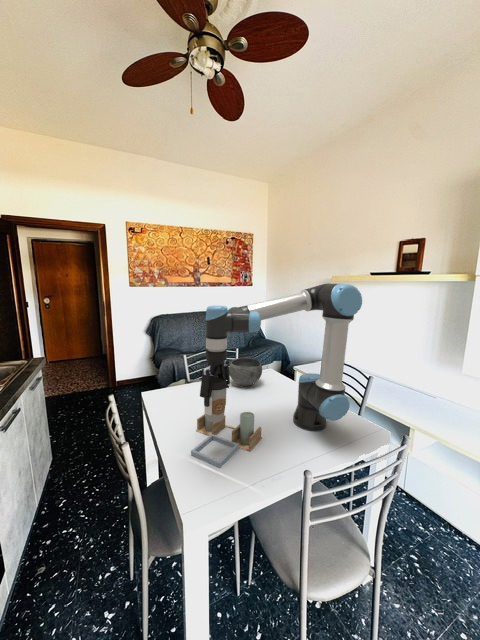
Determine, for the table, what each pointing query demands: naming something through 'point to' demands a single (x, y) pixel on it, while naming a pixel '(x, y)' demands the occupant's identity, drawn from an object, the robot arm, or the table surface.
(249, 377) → the bowl
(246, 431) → the jar
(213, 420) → the coffee cup
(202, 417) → the caddy
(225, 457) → the tray
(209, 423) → the jar
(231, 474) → the table surface
